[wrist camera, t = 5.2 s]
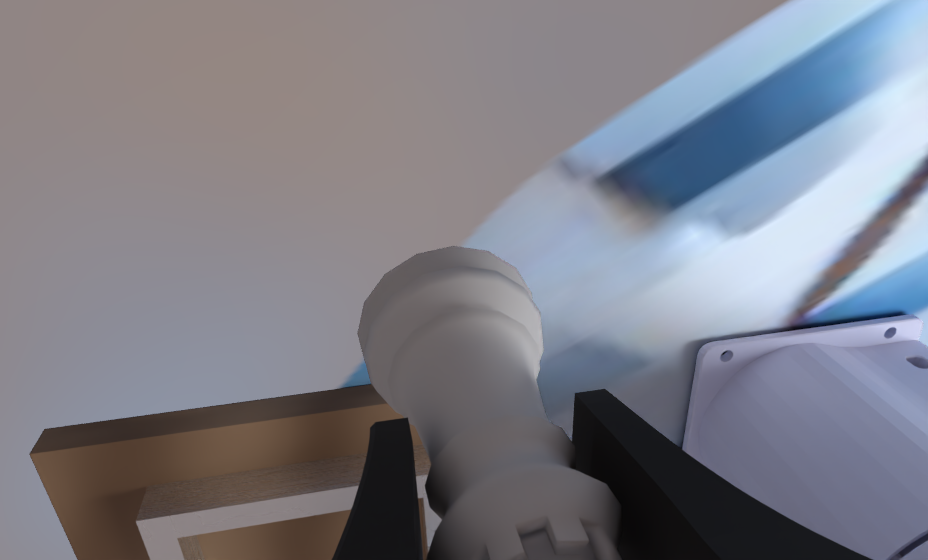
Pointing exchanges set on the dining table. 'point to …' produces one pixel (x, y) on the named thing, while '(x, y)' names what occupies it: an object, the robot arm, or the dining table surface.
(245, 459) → the collar board
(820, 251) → the dining table surface
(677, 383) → the dining table surface
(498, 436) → the rook chess piece
